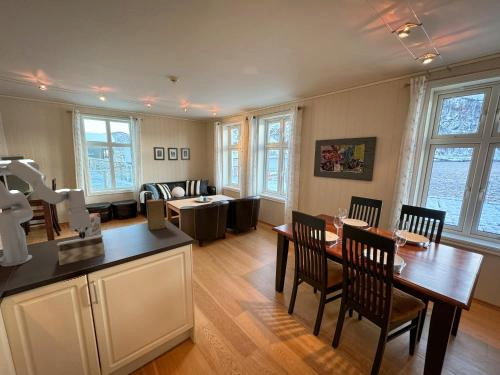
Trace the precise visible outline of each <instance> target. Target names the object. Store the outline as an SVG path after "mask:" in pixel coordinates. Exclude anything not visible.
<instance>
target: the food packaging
mask: <svg viewBox="0 0 500 375" xmlns="http://www.w3.org/2000/svg"><path fill="white" fill-rule="evenodd" d="M146 215H147V216H146V218H147V219H146V220H147V221H146V222H147V229H148V231H155V230H160V229H161V228H162V229H165V228H166V220H165V216H166V215H165V201H164V200H163V199H162V198H156V199H155V198H154V199H146ZM154 229H155V230H154ZM162 229H161V230H162Z"/></svg>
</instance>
